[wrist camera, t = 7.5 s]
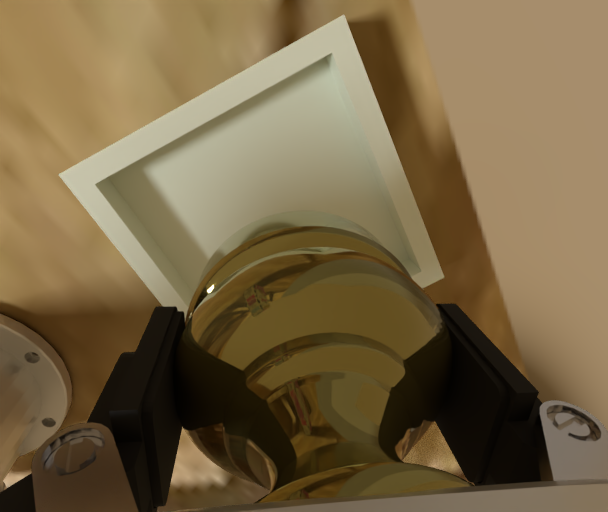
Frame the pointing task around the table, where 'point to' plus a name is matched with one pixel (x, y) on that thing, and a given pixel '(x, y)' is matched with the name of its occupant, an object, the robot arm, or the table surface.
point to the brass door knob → (312, 362)
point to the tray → (255, 167)
